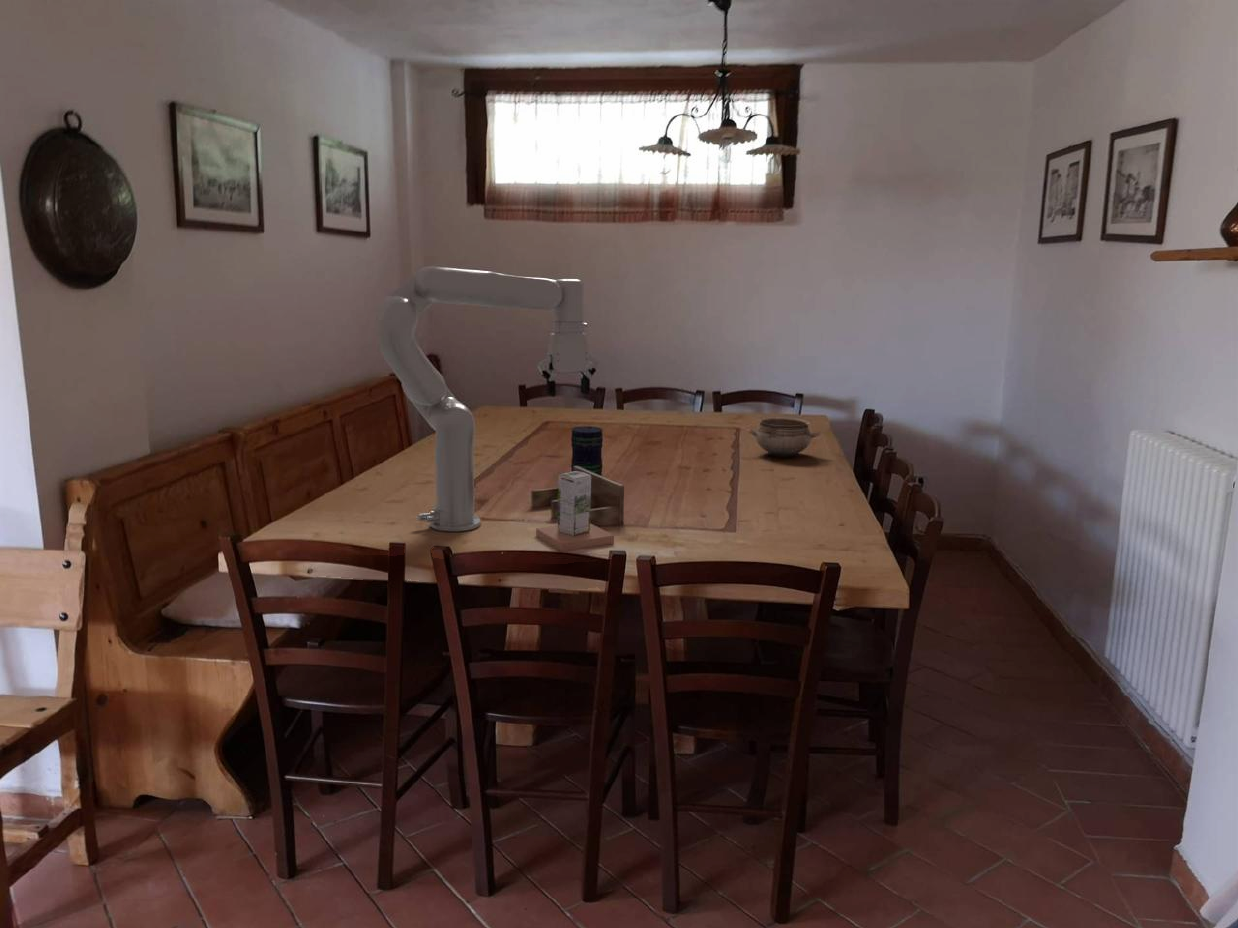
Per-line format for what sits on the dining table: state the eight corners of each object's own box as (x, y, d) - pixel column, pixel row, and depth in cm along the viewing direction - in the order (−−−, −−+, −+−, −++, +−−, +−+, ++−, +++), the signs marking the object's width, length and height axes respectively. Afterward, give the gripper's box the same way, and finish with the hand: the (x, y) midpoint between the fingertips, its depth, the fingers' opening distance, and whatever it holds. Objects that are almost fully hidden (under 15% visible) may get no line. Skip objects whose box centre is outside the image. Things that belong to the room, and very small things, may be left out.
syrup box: (574, 527, 233) (574, 469, 229) (591, 532, 229) (591, 474, 225) (557, 531, 229) (557, 473, 225) (574, 536, 225) (574, 477, 221)
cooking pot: (815, 451, 339) (817, 418, 336) (821, 462, 320) (823, 427, 318) (745, 449, 341) (747, 415, 338) (747, 459, 323) (748, 424, 320)
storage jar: (598, 480, 289) (599, 433, 286) (567, 478, 291) (567, 431, 288) (605, 473, 299) (606, 427, 296) (575, 471, 301) (575, 425, 298)
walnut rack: (575, 529, 237) (575, 491, 235) (531, 506, 259) (531, 470, 256) (623, 522, 244) (624, 485, 242) (577, 500, 266) (577, 465, 263)
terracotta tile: (562, 551, 220) (562, 543, 219) (536, 536, 231) (536, 528, 231) (613, 543, 227) (614, 535, 226) (586, 528, 238) (586, 521, 238)
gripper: (591, 326, 247) (590, 391, 251) (531, 328, 239) (531, 394, 243) (605, 328, 241) (604, 394, 245) (544, 330, 233) (544, 398, 236)
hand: (568, 394), depth 244 cm, fingers open, 9 cm apart
